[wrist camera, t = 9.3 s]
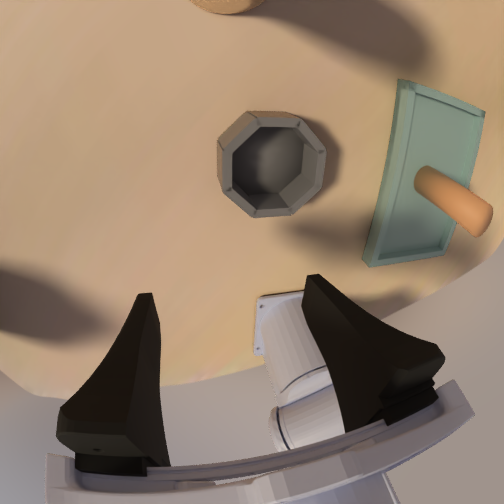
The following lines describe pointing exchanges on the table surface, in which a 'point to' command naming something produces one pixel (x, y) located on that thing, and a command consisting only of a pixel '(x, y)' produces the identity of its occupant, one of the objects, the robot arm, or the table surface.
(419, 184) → the dowel
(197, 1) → the beer glass
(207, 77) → the table surface
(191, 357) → the table surface
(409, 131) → the tray
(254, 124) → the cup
